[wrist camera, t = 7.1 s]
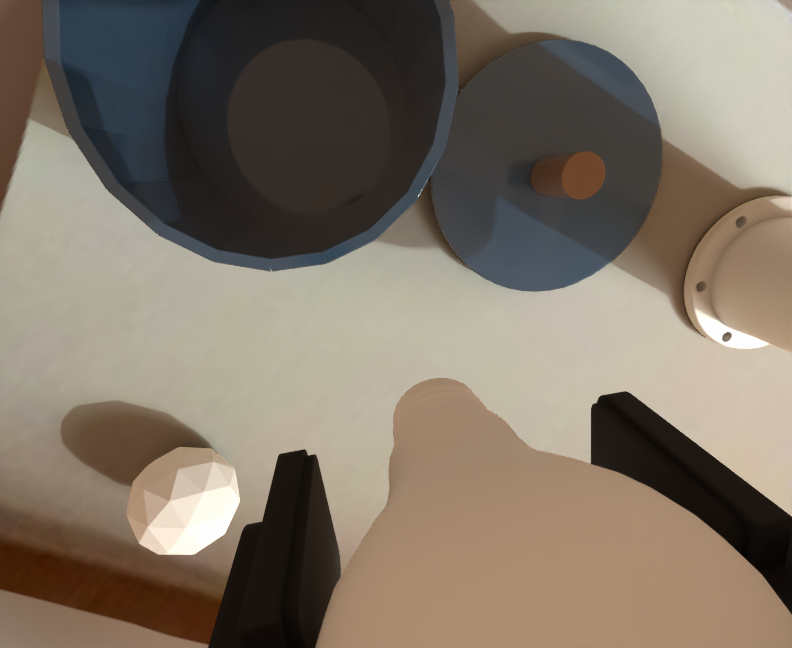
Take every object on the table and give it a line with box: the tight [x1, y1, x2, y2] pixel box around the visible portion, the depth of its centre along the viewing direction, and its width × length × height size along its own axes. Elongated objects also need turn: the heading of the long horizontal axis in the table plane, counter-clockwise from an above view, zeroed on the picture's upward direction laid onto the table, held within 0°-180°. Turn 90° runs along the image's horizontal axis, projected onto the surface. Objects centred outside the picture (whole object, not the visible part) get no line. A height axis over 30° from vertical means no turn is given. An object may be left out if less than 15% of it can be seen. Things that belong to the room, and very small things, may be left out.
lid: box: [430, 39, 662, 292], centre depth 30 cm, size 17×17×6 cm
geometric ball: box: [126, 447, 240, 555], centre depth 34 cm, size 8×8×8 cm
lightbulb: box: [315, 378, 792, 648], centre depth 8 cm, size 6×6×11 cm
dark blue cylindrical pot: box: [42, 0, 459, 271], centre depth 24 cm, size 16×16×13 cm
